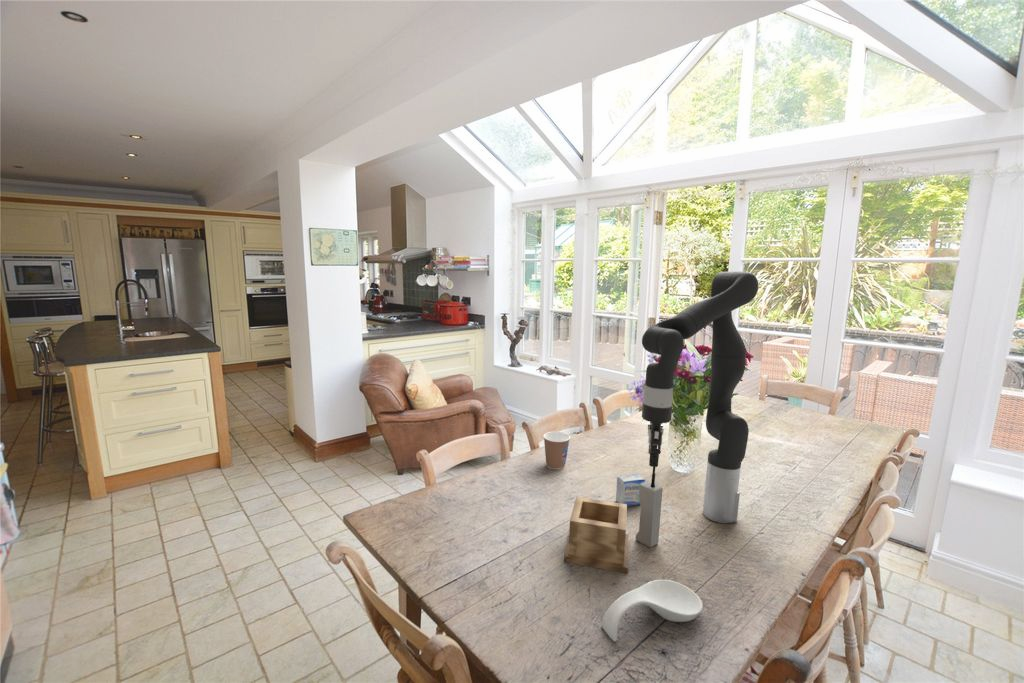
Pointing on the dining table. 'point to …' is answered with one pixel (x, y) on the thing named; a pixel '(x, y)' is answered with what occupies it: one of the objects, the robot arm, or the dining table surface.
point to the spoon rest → (655, 604)
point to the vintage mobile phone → (649, 512)
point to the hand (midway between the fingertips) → (652, 459)
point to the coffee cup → (556, 449)
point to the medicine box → (628, 489)
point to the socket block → (598, 535)
